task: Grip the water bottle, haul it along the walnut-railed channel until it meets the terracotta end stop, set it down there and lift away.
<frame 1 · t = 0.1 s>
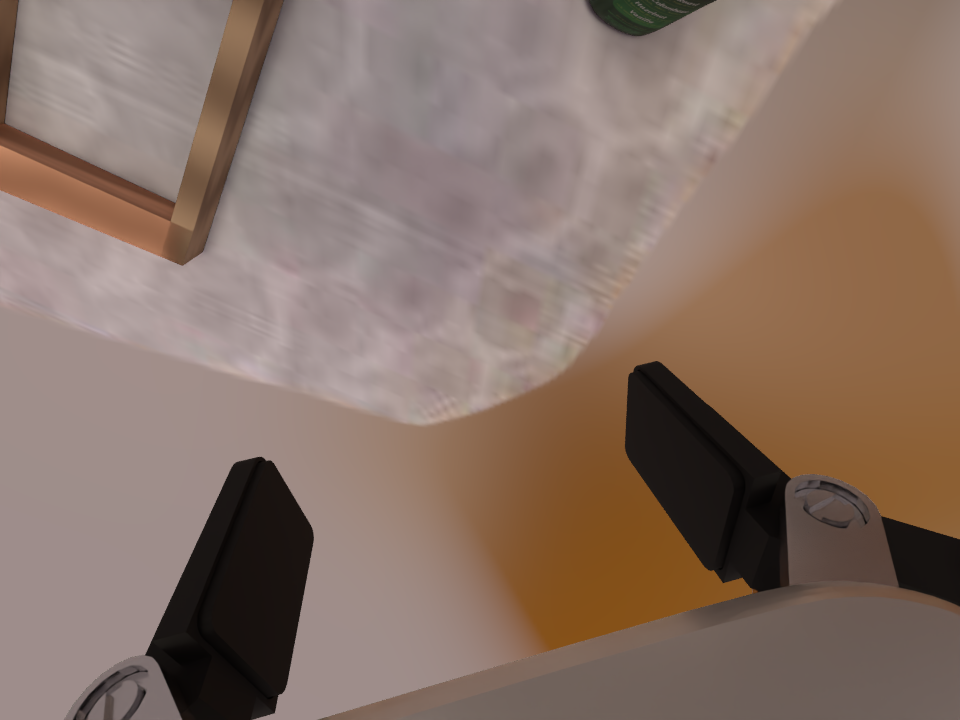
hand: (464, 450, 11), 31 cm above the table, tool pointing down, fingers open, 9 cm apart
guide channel: (134, 33, 28), on the table
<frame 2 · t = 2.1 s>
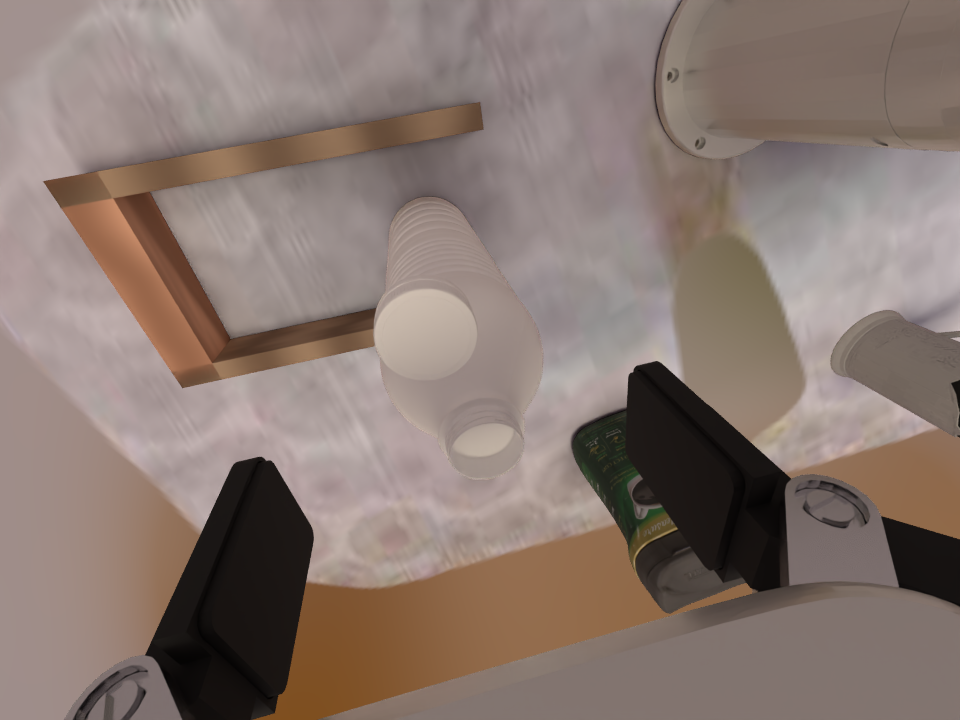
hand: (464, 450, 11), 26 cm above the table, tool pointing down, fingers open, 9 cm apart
glass holder: (887, 331, 47), on the table
water bottle: (424, 224, 33), on the table
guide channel: (323, 245, 32), on the table
coffee jar: (609, 436, 48), on the table
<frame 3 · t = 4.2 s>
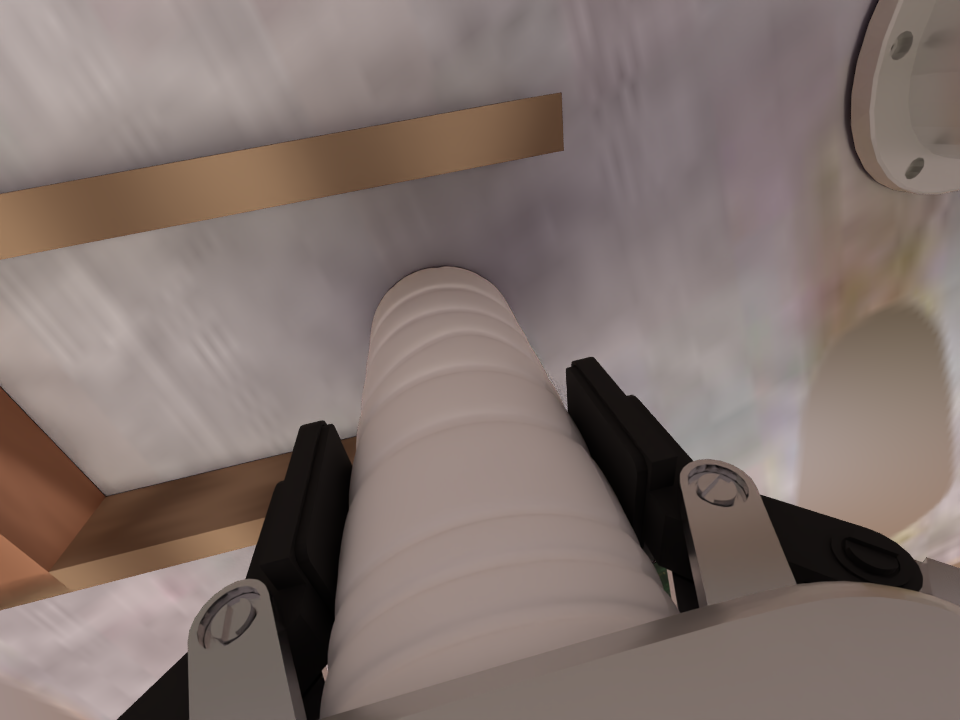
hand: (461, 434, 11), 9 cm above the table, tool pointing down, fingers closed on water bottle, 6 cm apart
water bottle: (433, 309, 19), on the table, touching gripper
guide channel: (255, 350, 18), on the table
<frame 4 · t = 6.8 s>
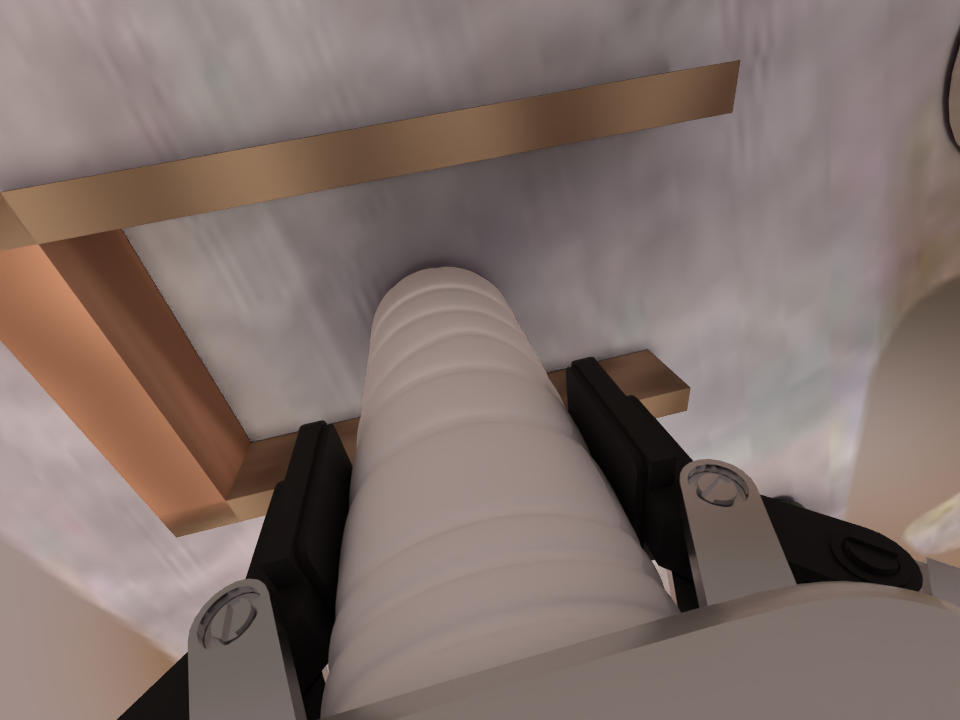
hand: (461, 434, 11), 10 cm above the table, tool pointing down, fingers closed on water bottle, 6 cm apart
water bottle: (433, 309, 19), point 1 cm above the table, touching gripper
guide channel: (405, 303, 20), on the table
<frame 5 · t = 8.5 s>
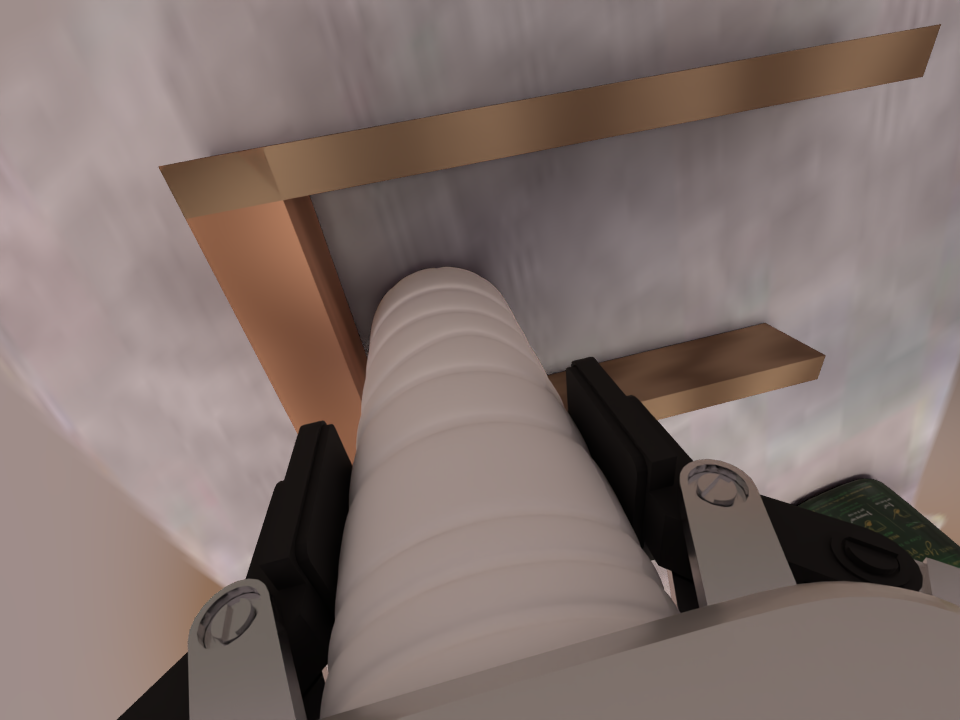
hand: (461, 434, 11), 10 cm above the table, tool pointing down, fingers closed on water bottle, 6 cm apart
water bottle: (433, 310, 19), point 1 cm above the table, touching gripper
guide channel: (552, 273, 20), on the table
coffee jar: (821, 509, 37), on the table
when the fingers open (9 cm above the table, at t = 9.8 s): water bottle stays where it is, on the table.
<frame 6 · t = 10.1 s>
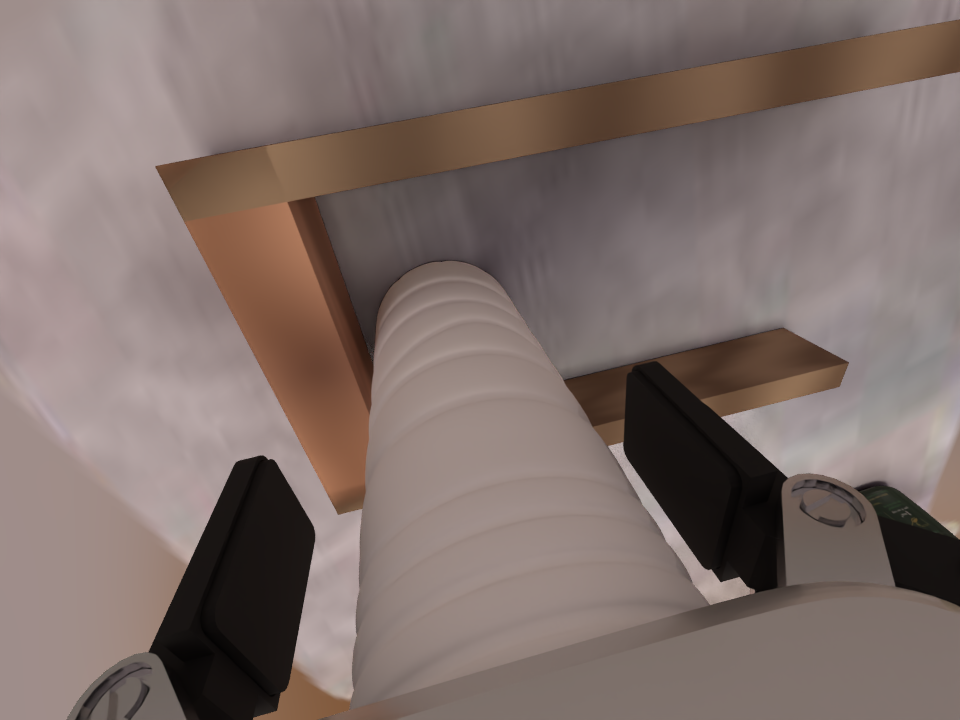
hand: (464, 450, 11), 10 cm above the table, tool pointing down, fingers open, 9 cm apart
water bottle: (436, 303, 19), on the table
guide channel: (565, 277, 20), on the table
coffee jar: (834, 516, 36), on the table
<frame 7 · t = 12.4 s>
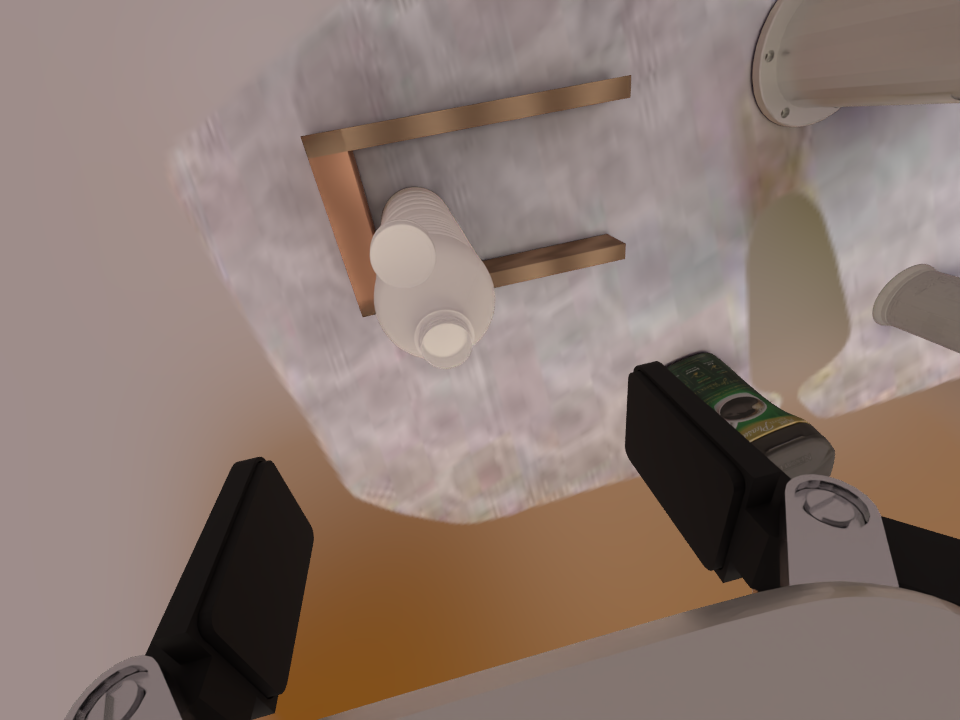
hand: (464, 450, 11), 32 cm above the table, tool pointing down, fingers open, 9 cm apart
glass holder: (921, 283, 55), on the table
water bottle: (411, 211, 38), on the table
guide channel: (477, 198, 38), on the table
coffee jar: (681, 378, 55), on the table
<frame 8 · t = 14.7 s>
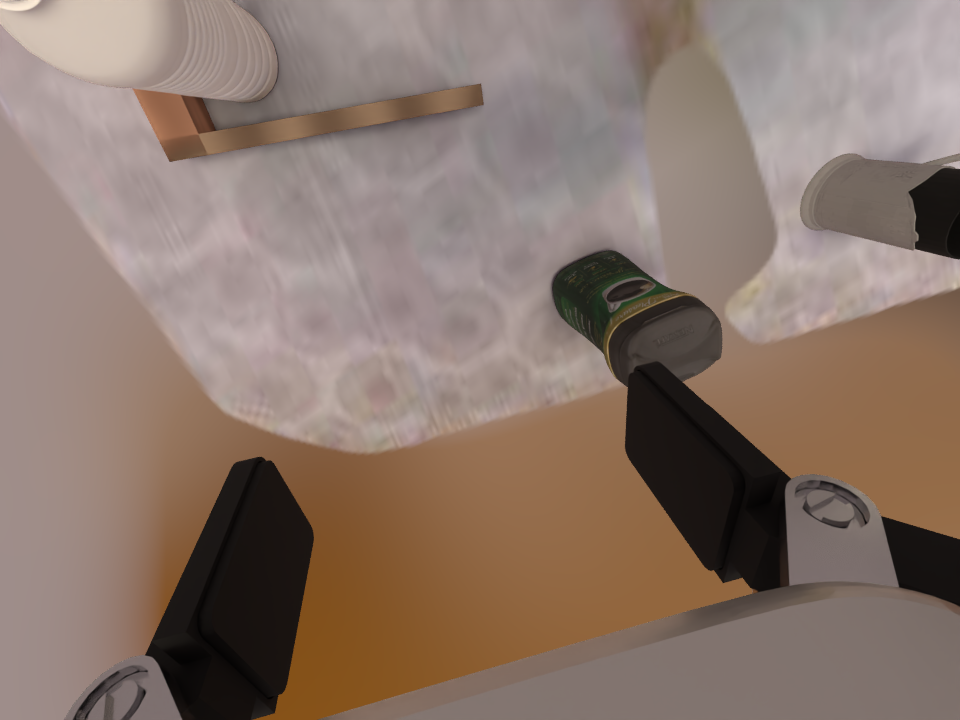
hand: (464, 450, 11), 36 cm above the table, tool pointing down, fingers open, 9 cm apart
glass holder: (853, 179, 49), on the table
water bottle: (227, 39, 33), on the table
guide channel: (305, 27, 33), on the table
coffee jar: (588, 284, 50), on the table
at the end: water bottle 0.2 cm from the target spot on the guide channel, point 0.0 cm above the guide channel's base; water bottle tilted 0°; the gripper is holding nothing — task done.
